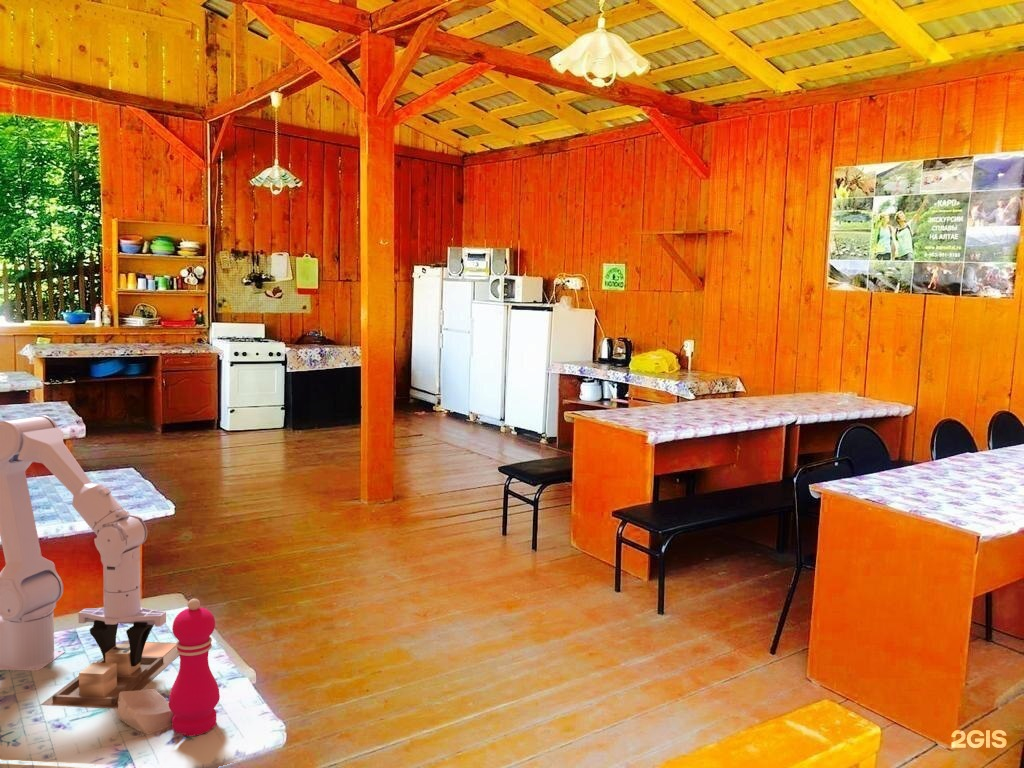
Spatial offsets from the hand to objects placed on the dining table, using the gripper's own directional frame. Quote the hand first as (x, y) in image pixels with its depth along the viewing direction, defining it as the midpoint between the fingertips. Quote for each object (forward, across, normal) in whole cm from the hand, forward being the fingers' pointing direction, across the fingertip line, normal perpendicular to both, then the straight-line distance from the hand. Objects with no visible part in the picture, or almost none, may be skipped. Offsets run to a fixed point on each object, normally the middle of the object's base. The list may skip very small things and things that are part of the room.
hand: (123, 663), depth 135 cm
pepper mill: (+2, +20, -16) cm, 26 cm away
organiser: (+2, 0, 0) cm, 2 cm away
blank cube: (+1, 0, -8) cm, 8 cm away
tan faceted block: (+2, +12, -15) cm, 20 cm away
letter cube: (+1, 0, 0) cm, 1 cm away
